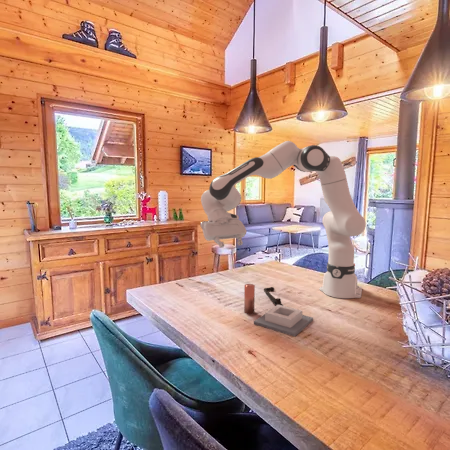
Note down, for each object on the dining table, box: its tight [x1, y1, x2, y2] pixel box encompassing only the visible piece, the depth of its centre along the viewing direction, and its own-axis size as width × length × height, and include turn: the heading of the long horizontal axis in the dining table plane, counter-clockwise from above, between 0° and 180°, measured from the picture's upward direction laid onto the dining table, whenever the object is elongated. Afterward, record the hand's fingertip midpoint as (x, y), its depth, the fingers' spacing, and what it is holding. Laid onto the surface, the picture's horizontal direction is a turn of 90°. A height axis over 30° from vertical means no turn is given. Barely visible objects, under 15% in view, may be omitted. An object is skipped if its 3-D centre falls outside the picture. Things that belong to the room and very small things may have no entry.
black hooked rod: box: [263, 286, 284, 307], centre depth 132 cm, size 5×5×30 cm
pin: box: [243, 283, 256, 315], centre depth 119 cm, size 4×4×11 cm
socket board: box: [253, 305, 314, 337], centre depth 111 cm, size 16×16×4 cm
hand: (231, 245), depth 128 cm, fingers open, 8 cm apart
